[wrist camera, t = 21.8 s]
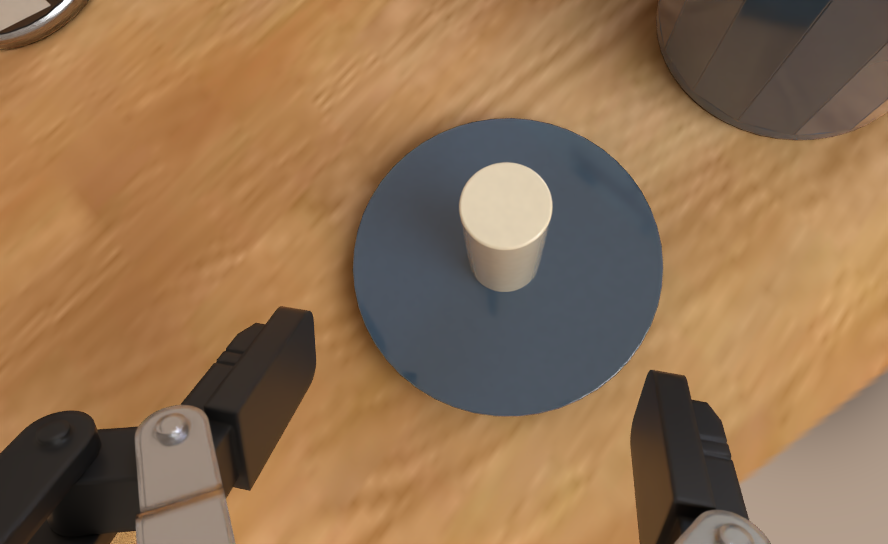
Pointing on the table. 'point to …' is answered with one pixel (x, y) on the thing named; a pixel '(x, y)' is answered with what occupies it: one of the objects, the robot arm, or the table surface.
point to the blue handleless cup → (780, 62)
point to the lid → (508, 267)
